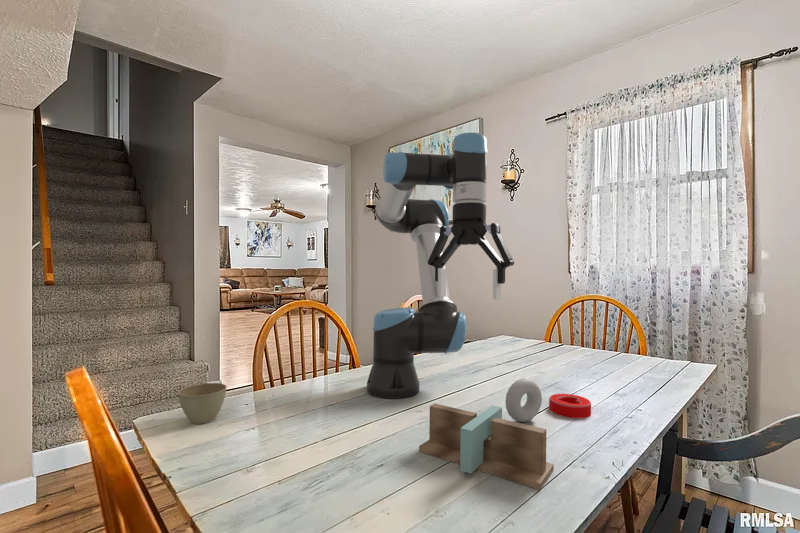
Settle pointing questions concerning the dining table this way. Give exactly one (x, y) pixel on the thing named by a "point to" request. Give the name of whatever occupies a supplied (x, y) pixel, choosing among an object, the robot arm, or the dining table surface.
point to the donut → (516, 395)
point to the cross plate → (476, 438)
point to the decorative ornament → (570, 405)
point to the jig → (492, 446)
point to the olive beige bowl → (202, 401)
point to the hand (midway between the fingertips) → (468, 297)
